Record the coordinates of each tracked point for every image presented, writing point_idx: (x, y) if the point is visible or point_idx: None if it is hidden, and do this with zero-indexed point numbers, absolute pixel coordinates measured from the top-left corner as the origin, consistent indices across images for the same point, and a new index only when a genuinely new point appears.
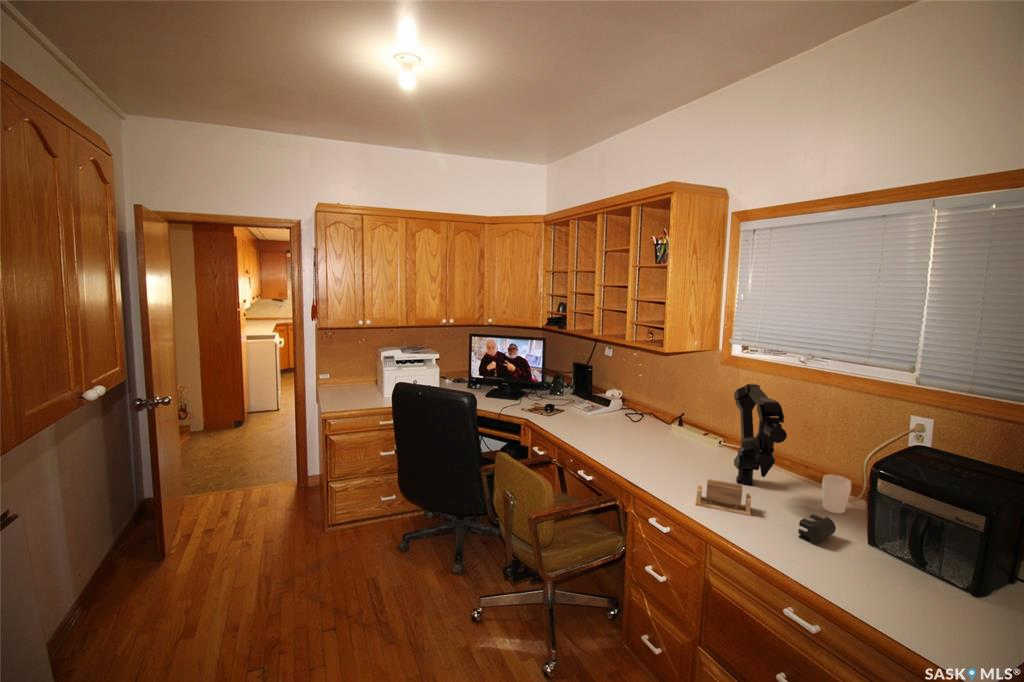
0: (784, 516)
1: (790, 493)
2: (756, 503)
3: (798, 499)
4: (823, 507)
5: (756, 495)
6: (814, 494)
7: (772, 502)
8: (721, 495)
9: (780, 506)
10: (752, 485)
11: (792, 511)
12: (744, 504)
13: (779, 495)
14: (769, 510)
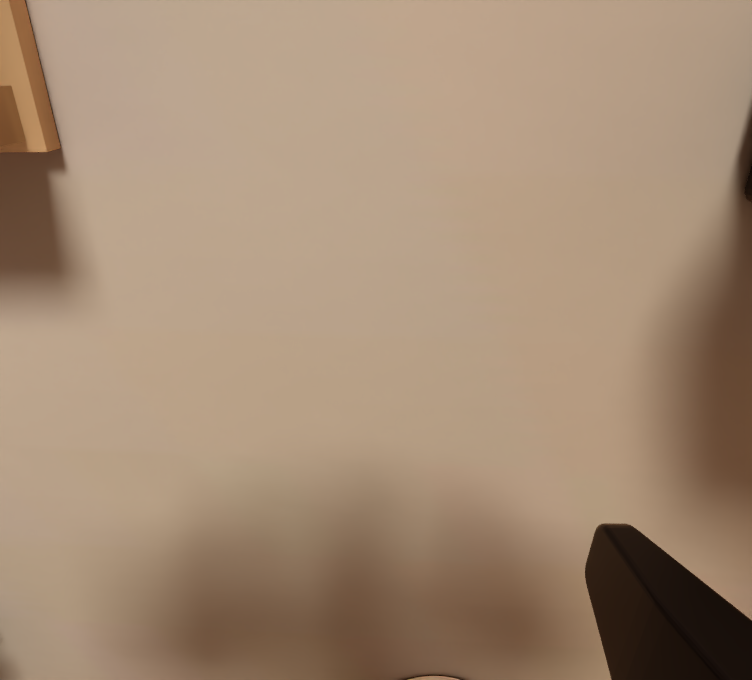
0: (85, 454)
1: (630, 516)
2: (230, 222)
3: (518, 559)
4: (425, 677)
5: (464, 228)
6: None
7: (349, 376)
8: None
9: (291, 435)
10: (746, 189)
11: (238, 511)
12: (24, 72)
13: (552, 438)
14: (129, 344)
